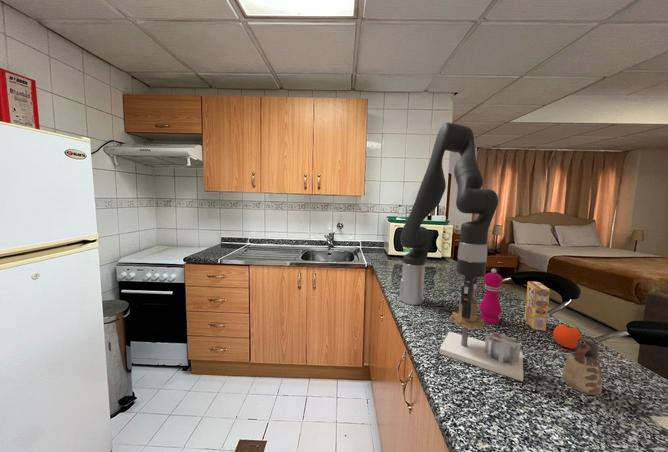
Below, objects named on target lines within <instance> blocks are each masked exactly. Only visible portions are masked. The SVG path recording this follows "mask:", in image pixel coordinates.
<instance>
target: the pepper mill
mask: <svg viewBox="0 0 668 452" xmlns="http://www.w3.org/2000/svg"><path fill="white" fill-rule="evenodd" d="M490 271H491V272H487V273H485V276H483V280H484V281H483V282H484V283H485V284H484V289H485V295H484V297H483V298H482V299H481V301H480V304H479V311H480V312H481V313H480V315H479V318H480V319H484V323H487V324H491V325H494V324H495V325H496V324H499V323H500V317H499V316H500V315H501V314H502V306H501V303H500V300H499V291H501V285H502V284H503V277H502V276H501V274H499V273H497V269H496V268H492V269H491V270H490Z"/></svg>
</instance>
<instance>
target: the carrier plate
mask: <svg viewBox="0 0 668 452" xmlns="http://www.w3.org/2000/svg"><path fill="white" fill-rule="evenodd" d="M485 343H486V340H485V341H484V340H480V339H476V338H474V337H470V336H469V328H466V327H462V330H461V334H459V333H455V332H453V331H448V333H447V334H446V336H445V339H444V340H443V342H442V343H441V346H440V347H439V354H440V355H442V356H445V357H448V358H451V359H454V360H457V361H460V362H464V363H467V364H470V365H472V366H476V367H478V368H481V369H485V370H486V371H490V372H493V373H495V374H496V373H497V374H499V375H502V376H505V377H508V378H511V379H514V380H517V381H520V382H524V356H523V354H524V353H523V351H520V355H519V363H518V362H515V365H514V366H511V365H510V364H507V363H503V364H500V363H498V361H496V360H494V359H489V358H488V357H487V354H488V353H485Z"/></svg>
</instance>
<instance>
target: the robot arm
mask: <svg viewBox="0 0 668 452" xmlns="http://www.w3.org/2000/svg"><path fill="white" fill-rule="evenodd" d="M433 145H434V146H433V148H432V152H431V155H430V160H429V161H428V165H427V168H426V171H425V173H424V175H423V178H422V181H421V183H420V186H419V189H418V191H417V195H416V198H415V200H414V203H413V206H412V208H411V211H410V213H409V215H408V218H407V220H406V222H405V223H404V225H403V227H402V230H401V232H400V233H401V234H400V236H399V237H400V243H401V245H402V247H404V248H406V249H411V250H410V251H409V252H408V253H406V254H404V256H403V257H402V260H403V262H402V275H401V279H400V281H399V297H398V298H399V301H400V302H402V303H404V304H406V305H413V306H417V305H421V304H423V302H424V301H423V300H424V287H425V286H424V285H425V284H424V283H425V270H426V269H425V268H426V261H427V259H428V256H429V255H428V254H429V245H430V233H429V230H428V229H427V228H426V227H425V226H421V225H423V224H422V223H423V222H424V221H425V220H426V218H428V216H429V215H431V213H433V211H434V210H436V209H437V207H438V206H439V204H440V203H441V201H442V199H443V196H444V194H445V191H446V187H447V183H446V179H445V174H444V169H443V159H444V155H445V151H447V152H452V153H458V154H459V155H460V157H459V159H458V160H457V162H456V163H455V166H454V169H453V171H454V172H453V174H454V178H455V181H456V185H457V194H456V199H455V205H456V209H457V210H458V212H460V213H462V214H470V215H471V214H473V215H475V214H476V215H477V214H478V216H477V218H476V219H475V220H471V221H466V222H463V223H462V224H461V226H460V237H459V244H458V247H457V248H458V249H457V258H456V261H457V262H456V273H457V274H459V275H462V276H463V277H464V278H462V279H461V281H460V282H461V283H460V286H461V287H460V291H461V293H460V299H461V305H462V317H463V318H467V319H470V315H471V306H472V300H474V301H475V299H476V298H475V297H476V296H477V293H478V291H477V290H478V285H479V280H478V278H484V276H485V275H486V274H487V273H486V269H487V260H488V237H489V235H488V234H489V228H490V227H491V222H492V221H493V219H494V215H495V213H496V211H497V209H498V206H499V196H498V195H497V192H496V191H495V190H494V189H490V188H489V189H487V188H482V187H483V186H484V178H483V176H482V173H481V170H480V168H479V165H478V162H477V154H476V145H475V137H474V132H473V129H472V128H470V127H469V126H466V125H461V124H459V123H453V122H445V123H443V124H442V125H441V127H440V128H439V130H438V133H437V135H436V138H435V141H434V144H433ZM465 299H468V300H469V302H468V301H464V300H465Z"/></svg>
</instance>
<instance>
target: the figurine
mask: <svg viewBox="0 0 668 452" xmlns="http://www.w3.org/2000/svg"><path fill="white" fill-rule="evenodd" d="M599 350H600V347H599V346H598V345H597V344H596V343H595V342H594V341H593V340H591V339H589V338H587V337H582V338H580V339H578V340H577V347H576V351H572V352H570V353H569V354H568V356H567V357H566V359H565V360H566V361H565V364H564V366H563V367H564V368H563V370H562V379H563V381H564V383H566V384H567V386H569V387H571V388H572V389H574V390H575V391H579V392H581V393H583V394H587V395H590V396H593V395H594V396H599V395H600V394H601V393H602V390H603V381H602V377H603V376H602V371H603V370H602V367H601V365H600V363H599V362H598V361H600V357H598V354H599Z"/></svg>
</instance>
